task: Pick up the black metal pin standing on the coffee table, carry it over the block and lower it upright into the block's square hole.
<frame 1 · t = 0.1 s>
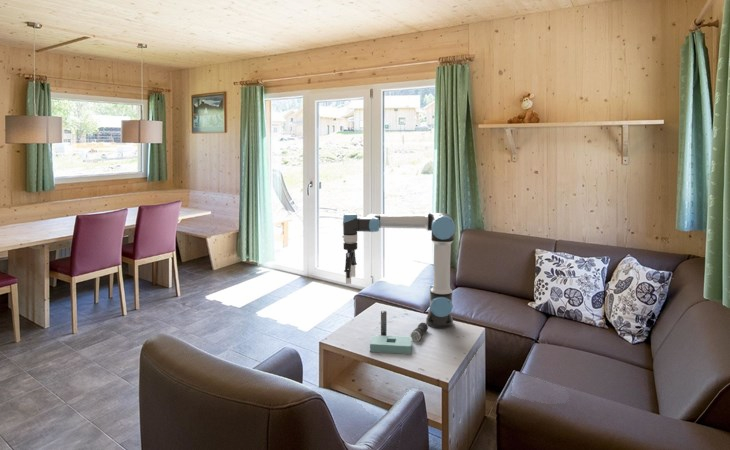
hand: (350, 280, 243), 28 cm above the table, fingers open, 13 cm apart
peg: (383, 337, 236), on the table
hole block: (391, 348, 222), on the table
flashlight: (419, 336, 237), on the table
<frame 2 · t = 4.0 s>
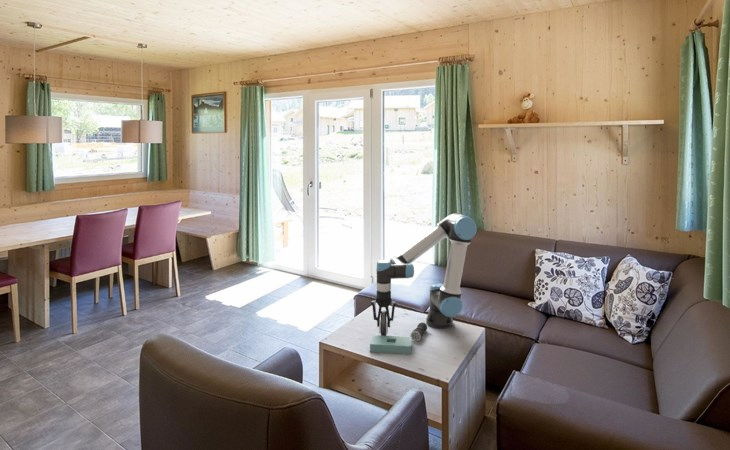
hand: (383, 332, 235), 3 cm above the table, fingers closed on peg, 3 cm apart
peg: (383, 336, 236), on the table, touching gripper
everything else where it was.
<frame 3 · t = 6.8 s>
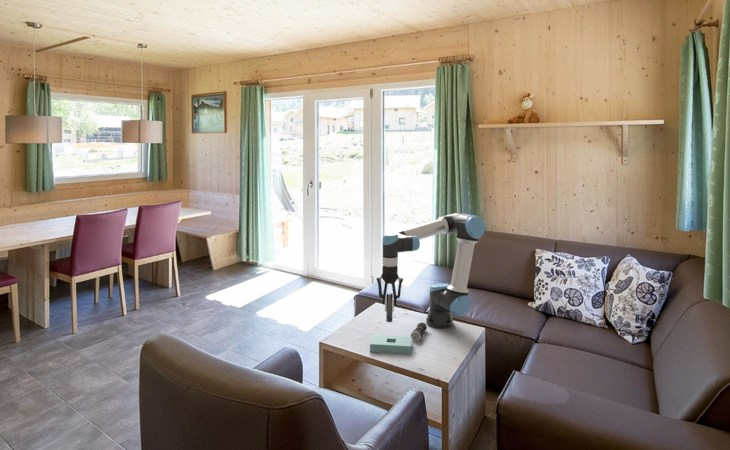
hand: (389, 310, 221), 19 cm above the table, fingers closed on peg, 3 cm apart
peg: (389, 321, 222), point 14 cm above the table, touching gripper
everything else where it was.
when the fingers open (5 cm above the table, at t = 10.1 s): peg stays where it is, resting in hole block.
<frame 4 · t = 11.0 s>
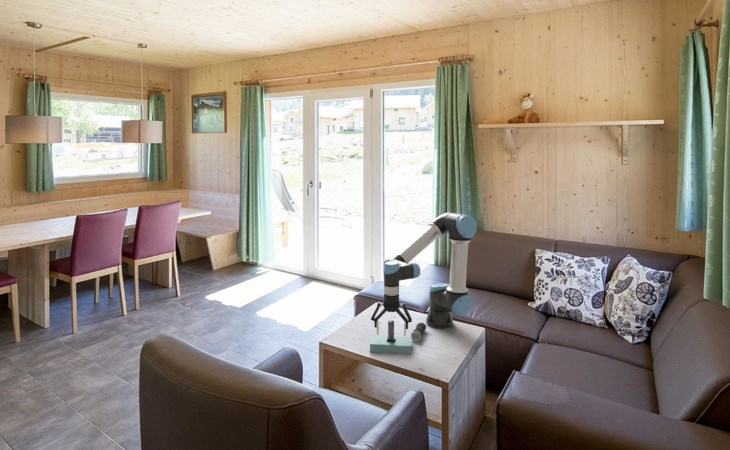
hand: (391, 334, 221), 7 cm above the table, fingers open, 13 cm apart
peg: (390, 348, 222), resting in hole block
everything else where it was.
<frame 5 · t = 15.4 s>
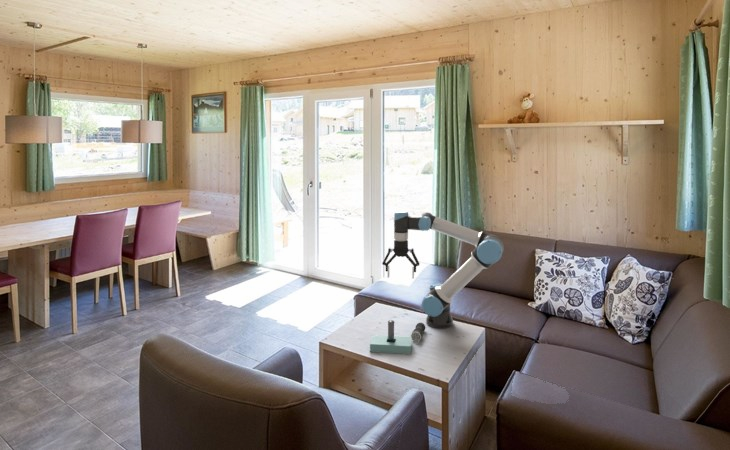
hand: (400, 277, 245), 29 cm above the table, fingers open, 13 cm apart
nothing on the table moved.
at the end: peg 0.1 cm off-centre on the hole block, point 0.0 cm above the hole block's base; peg tilted 0°; the gripper is holding nothing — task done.
